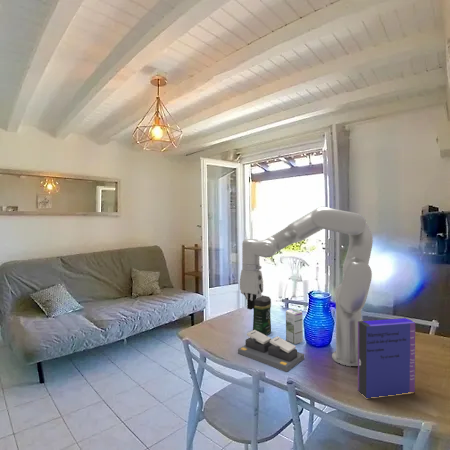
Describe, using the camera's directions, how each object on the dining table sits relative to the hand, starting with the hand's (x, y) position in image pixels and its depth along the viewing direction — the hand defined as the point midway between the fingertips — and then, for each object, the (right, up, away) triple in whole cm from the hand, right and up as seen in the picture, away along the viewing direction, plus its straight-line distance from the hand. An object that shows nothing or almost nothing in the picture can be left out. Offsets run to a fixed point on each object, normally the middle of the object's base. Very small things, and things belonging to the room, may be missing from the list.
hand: (250, 308), depth 136 cm
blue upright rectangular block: (+42, -19, -33) cm, 57 cm away
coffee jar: (+7, -18, +19) cm, 27 cm away
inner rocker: (+12, -12, -10) cm, 20 cm away
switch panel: (+8, -19, -6) cm, 21 cm away
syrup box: (+21, -18, +9) cm, 29 cm away
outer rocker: (+3, -12, -2) cm, 12 cm away
